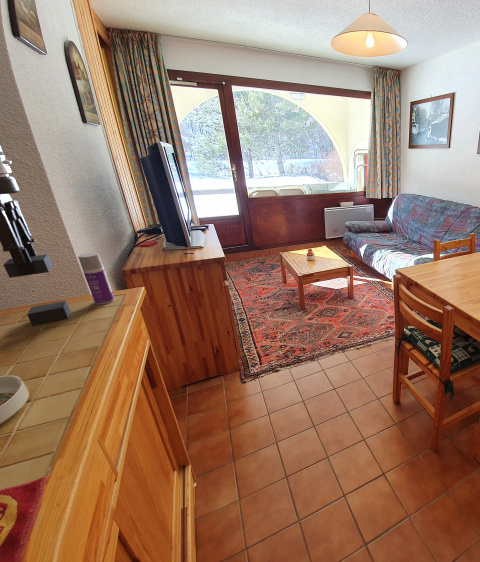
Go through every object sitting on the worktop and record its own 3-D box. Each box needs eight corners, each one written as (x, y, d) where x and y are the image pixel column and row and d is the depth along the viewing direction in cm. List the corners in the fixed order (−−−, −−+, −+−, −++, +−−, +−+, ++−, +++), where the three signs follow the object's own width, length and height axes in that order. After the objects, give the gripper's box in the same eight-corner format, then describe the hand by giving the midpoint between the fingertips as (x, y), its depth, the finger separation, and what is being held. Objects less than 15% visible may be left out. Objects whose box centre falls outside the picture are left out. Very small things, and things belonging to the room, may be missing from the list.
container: (95, 306, 92) (77, 258, 86) (94, 300, 95) (77, 254, 89) (115, 301, 95) (99, 255, 89) (114, 296, 98) (98, 251, 92)
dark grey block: (9, 277, 76) (3, 264, 74) (15, 271, 79) (9, 258, 78) (49, 272, 79) (43, 259, 78) (52, 266, 83) (47, 254, 82)
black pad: (32, 325, 81) (26, 314, 80) (36, 318, 85) (31, 306, 84) (68, 318, 85) (63, 307, 84) (70, 311, 89) (66, 300, 88)
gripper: (0, 178, 66) (44, 279, 75) (23, 172, 79) (58, 259, 88) (-56, 179, 61) (-2, 286, 71) (-22, 173, 75) (20, 263, 84)
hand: (31, 270), depth 79 cm, fingers closed on dark grey block, 5 cm apart
